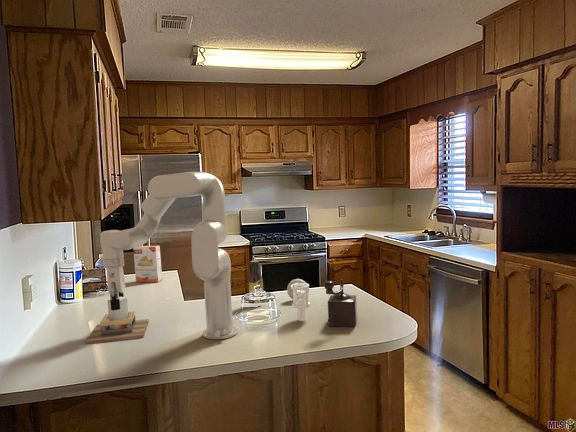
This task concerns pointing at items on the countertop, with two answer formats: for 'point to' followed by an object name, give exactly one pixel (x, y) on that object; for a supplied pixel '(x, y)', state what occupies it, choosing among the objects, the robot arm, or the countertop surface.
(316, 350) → the countertop surface
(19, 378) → the countertop surface
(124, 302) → the skincare box
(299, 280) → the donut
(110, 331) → the frame
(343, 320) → the manual coffee grinder
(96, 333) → the walnut board
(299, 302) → the clear stepped glass cylinder
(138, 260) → the cracker box
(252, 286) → the sauce bottle
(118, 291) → the robot arm
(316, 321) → the countertop surface
